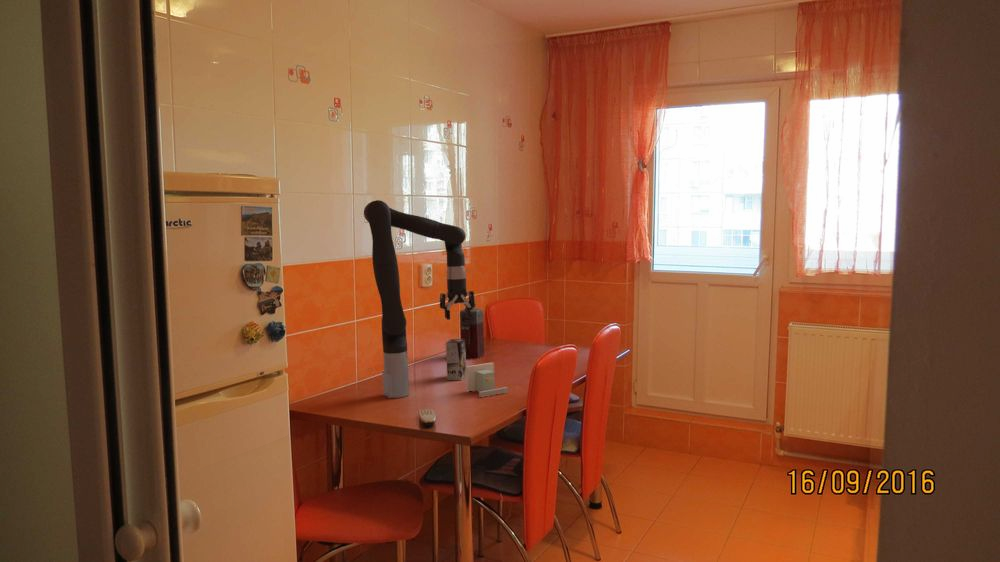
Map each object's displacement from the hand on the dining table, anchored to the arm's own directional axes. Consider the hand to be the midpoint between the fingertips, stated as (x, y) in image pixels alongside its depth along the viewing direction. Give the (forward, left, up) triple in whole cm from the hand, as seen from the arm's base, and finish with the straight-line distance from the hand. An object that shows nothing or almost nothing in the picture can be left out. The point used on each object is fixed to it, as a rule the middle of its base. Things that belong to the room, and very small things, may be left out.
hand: (457, 318), depth 277 cm
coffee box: (+7, +17, -28) cm, 34 cm away
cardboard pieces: (+5, -13, -28) cm, 31 cm away
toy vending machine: (+33, +52, -28) cm, 68 cm away
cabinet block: (+5, -12, -28) cm, 31 cm away
